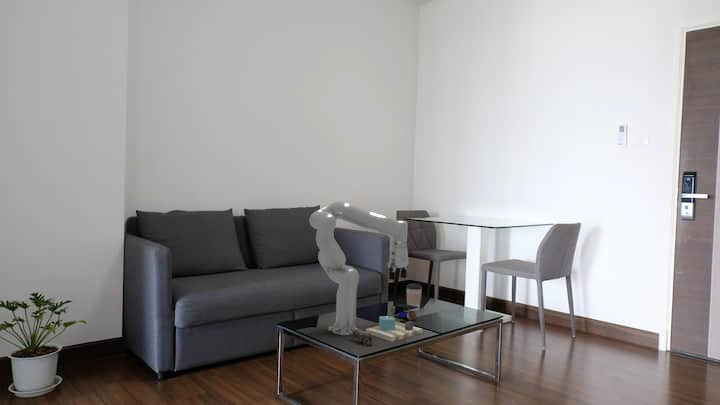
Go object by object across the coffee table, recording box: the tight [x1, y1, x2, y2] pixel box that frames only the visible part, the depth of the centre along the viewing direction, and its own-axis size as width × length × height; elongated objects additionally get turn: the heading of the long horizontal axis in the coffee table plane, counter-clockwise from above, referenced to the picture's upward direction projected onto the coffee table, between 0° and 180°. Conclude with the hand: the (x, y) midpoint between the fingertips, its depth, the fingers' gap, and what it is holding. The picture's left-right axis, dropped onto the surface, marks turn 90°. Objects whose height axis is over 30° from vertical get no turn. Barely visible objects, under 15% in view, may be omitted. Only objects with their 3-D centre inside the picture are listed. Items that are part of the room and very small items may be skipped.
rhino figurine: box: [349, 328, 374, 347], centre depth 229 cm, size 4×14×6 cm, turn 44°
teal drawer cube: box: [378, 315, 396, 330], centre depth 246 cm, size 7×7×5 cm
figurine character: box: [390, 303, 418, 321], centre depth 275 cm, size 7×8×15 cm
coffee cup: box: [406, 282, 423, 312], centre depth 295 cm, size 9×9×15 cm
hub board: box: [365, 320, 424, 343], centre depth 245 cm, size 22×17×6 cm
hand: (397, 278), depth 260 cm, fingers open, 9 cm apart
